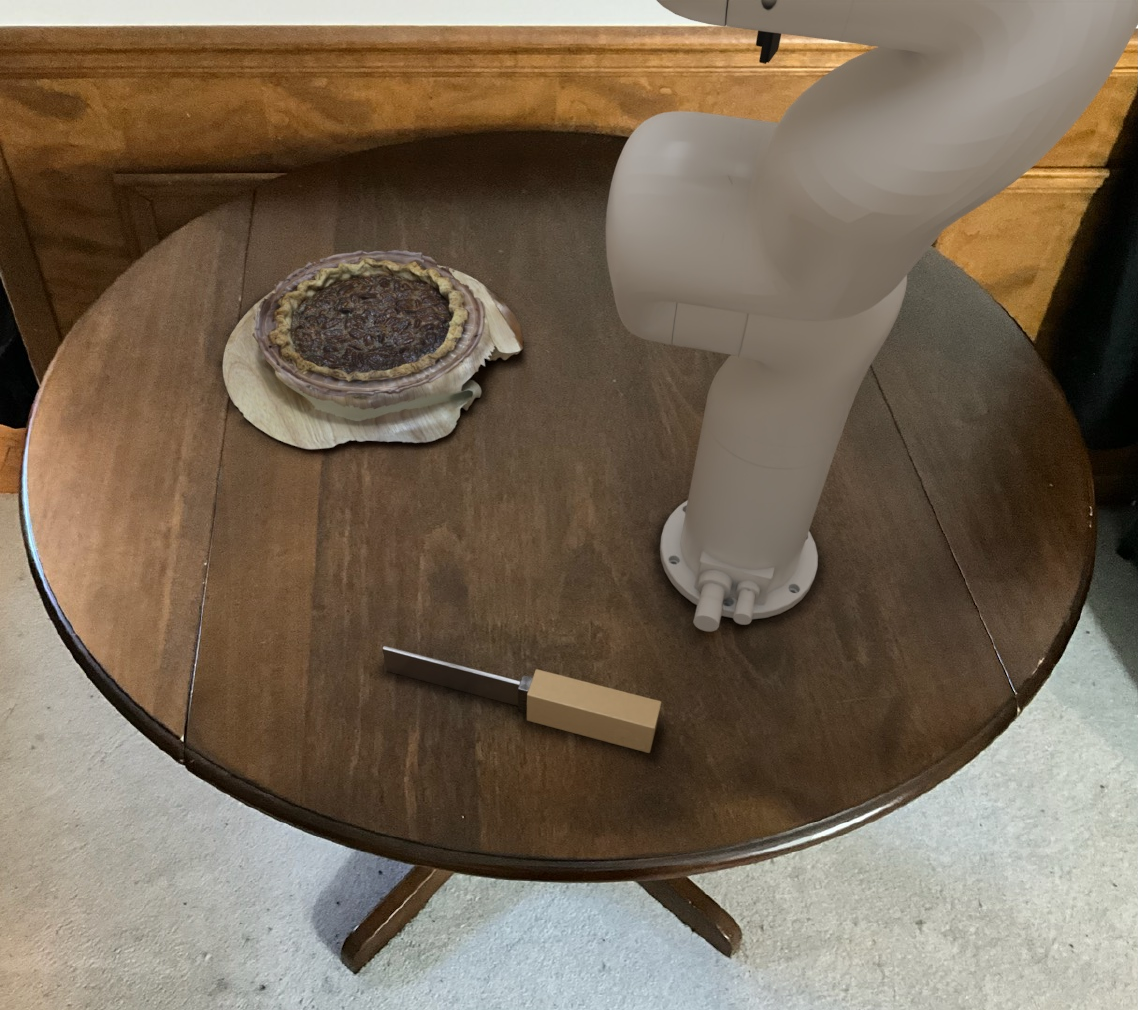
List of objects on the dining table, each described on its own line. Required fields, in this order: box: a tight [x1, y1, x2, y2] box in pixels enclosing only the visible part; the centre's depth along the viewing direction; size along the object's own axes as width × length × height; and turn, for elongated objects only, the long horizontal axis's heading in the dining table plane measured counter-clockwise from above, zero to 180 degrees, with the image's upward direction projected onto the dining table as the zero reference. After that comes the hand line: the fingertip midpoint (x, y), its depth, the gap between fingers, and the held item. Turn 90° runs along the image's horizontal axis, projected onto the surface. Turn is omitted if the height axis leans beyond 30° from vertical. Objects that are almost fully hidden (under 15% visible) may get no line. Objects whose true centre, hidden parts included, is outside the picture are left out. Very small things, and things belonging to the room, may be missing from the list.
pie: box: [222, 249, 524, 450], centre depth 97 cm, size 28×27×5 cm
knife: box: [382, 645, 662, 754], centre depth 73 cm, size 20×2×4 cm, turn 75°
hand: (826, 70), depth 82 cm, fingers open, 9 cm apart
